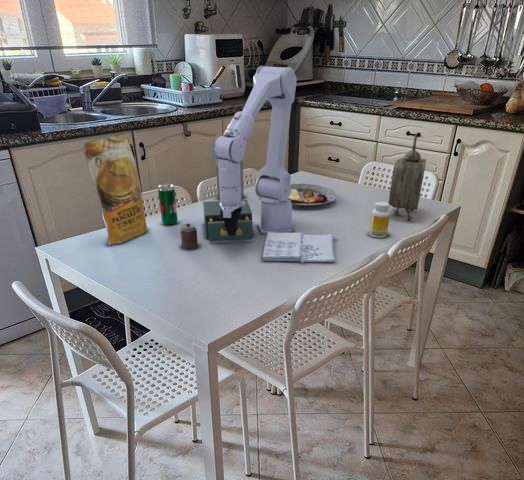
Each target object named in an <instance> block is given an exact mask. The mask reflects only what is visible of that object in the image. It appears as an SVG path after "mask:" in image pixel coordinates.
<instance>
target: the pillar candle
mask: <svg viewBox="0 0 524 480" xmlns="http://www.w3.org/2000/svg"><path fill="white" fill-rule="evenodd" d="M215 167H216V188H217V189H216V190H217V199H219V200H220V190H219V171H218V166H217V165H216V164H215ZM240 176H241V200H243V199H244V198H245V197H244V196H245V195H244V194H245V193H244V190H245V189H244V157H243V158H242V160H241V161H240Z"/></svg>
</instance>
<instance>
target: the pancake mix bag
mask: <svg viewBox="0 0 524 480" xmlns="http://www.w3.org/2000/svg"><path fill="white" fill-rule="evenodd" d="M82 151H83V155H84V159H85V162H86V166H87V168H88V171H89V173H90V174H89V175H90V177H91V182H92V185H93V188H94V190H95V194H96V195H97V197H98V199H99V203H100V208H101V211H102V217H103V220H104V222H105V225H106V230H107V234H108V235H107V243H108V244H107V245H108V246H113V245H121V244H124V243H126V242H128V241H131V240H133V239H135V238H137V237H140V236H142V235H144V234H146V233H147V229H148V225H147V221H146V214H145V213H146V212H145V206H144V201H143V200H144V199H143V195H142V186H141V181H140V177H139V171H138V167H137V163H136V160H135V157H134V153H133V150H132V146H131V143H130V140H129V137H128V135H126V133H119V134H115V135H111V136H106V137H105V136H104V137H100V138H97V139H93V140H90V141H86V142H84V144H83V146H82Z"/></svg>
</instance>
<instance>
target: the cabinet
mask: <svg viewBox="0 0 524 480" xmlns="http://www.w3.org/2000/svg"><path fill="white" fill-rule="evenodd" d="M241 201H245V202H246V205H245V206H240V207H241V208H242V211H241V213H240V215H239V216H248V218H249V220H252V221H253V212H252V208H251V206H250V204H249V202H248V199H241ZM219 202H220V200H211V201H202V206H203V220H204V221H203V222H204V230H205V236H206V240H209V233H208V222H209V219H208V218H210V217H221V215H220V210H221V209H222V208H221V207H220V205H219ZM252 237H253V234H252Z"/></svg>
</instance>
